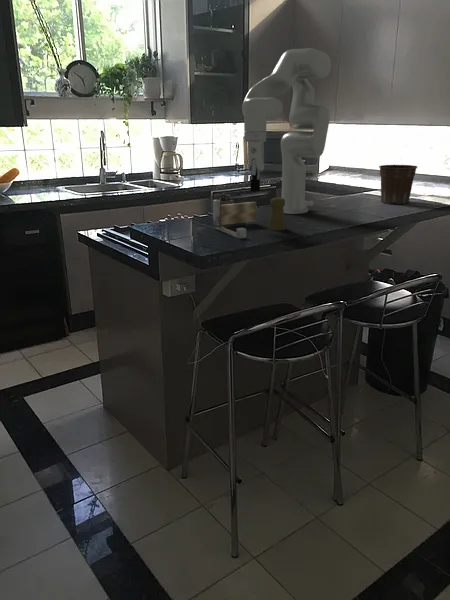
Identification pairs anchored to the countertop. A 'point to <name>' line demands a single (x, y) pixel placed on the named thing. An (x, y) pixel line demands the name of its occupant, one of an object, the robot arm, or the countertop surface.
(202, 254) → the countertop surface
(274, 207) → the cork
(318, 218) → the countertop surface
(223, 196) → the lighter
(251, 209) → the door
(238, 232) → the grey l-shaped bracket
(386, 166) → the plant pot
